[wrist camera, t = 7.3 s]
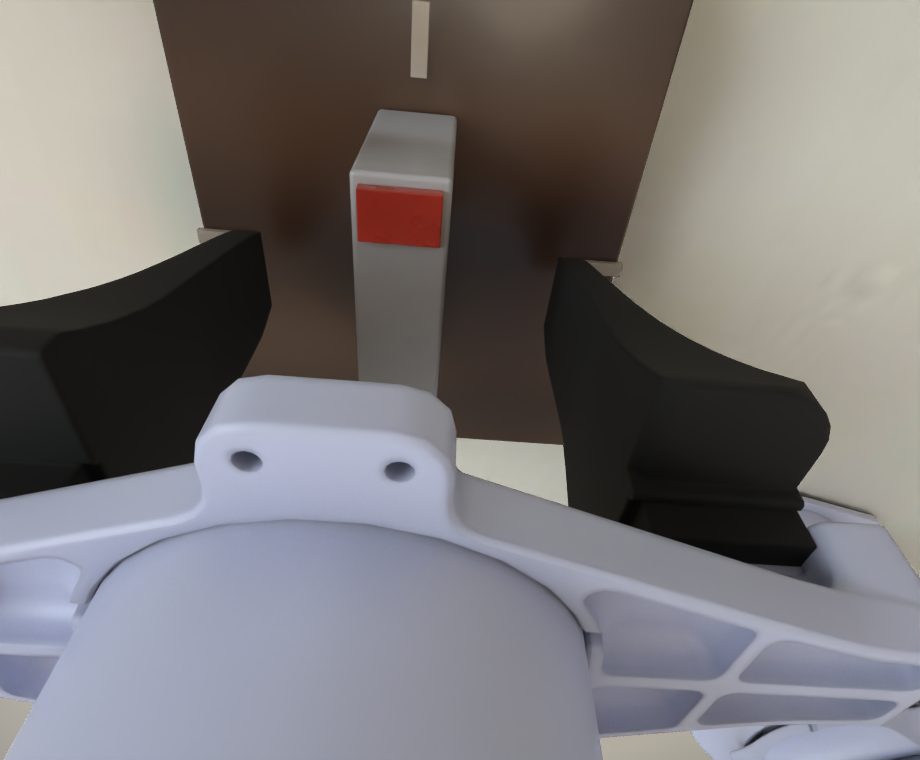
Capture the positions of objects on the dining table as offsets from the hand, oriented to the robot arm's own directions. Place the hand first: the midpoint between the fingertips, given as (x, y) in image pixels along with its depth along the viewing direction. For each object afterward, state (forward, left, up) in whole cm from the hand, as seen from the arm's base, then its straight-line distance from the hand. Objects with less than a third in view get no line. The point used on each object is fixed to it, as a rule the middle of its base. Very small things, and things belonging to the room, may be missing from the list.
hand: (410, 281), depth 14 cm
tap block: (0, 0, -5) cm, 4 cm away
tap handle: (0, 0, -1) cm, 1 cm away
